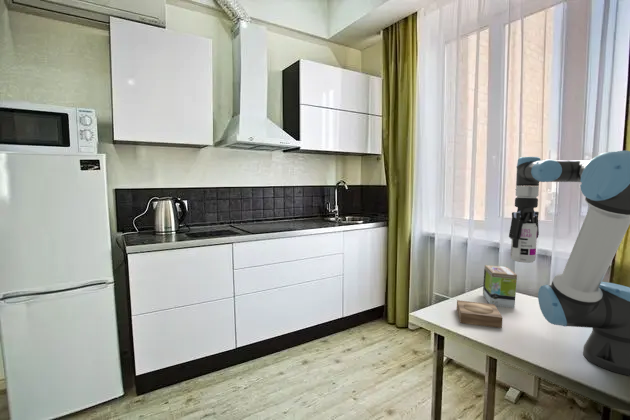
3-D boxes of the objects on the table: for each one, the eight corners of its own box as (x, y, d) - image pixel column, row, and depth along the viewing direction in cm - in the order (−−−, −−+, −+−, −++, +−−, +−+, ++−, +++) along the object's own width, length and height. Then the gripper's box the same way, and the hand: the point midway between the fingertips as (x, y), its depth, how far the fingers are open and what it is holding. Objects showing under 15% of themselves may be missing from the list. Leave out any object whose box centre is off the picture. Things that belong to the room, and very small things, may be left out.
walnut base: (501, 328, 120) (502, 317, 120) (460, 322, 124) (461, 312, 124) (493, 313, 133) (494, 303, 133) (456, 309, 138) (457, 299, 137)
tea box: (515, 308, 139) (517, 274, 138) (489, 305, 142) (491, 272, 141) (505, 296, 154) (507, 265, 153) (482, 294, 157) (483, 264, 155)
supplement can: (527, 258, 132) (530, 221, 131) (539, 263, 124) (542, 224, 123) (506, 257, 133) (508, 221, 132) (517, 262, 125) (519, 223, 124)
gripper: (532, 196, 135) (528, 250, 137) (500, 197, 125) (496, 255, 127) (552, 197, 128) (548, 254, 130) (520, 197, 118) (516, 259, 120)
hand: (522, 254), depth 128 cm, fingers closed on supplement can, 8 cm apart
